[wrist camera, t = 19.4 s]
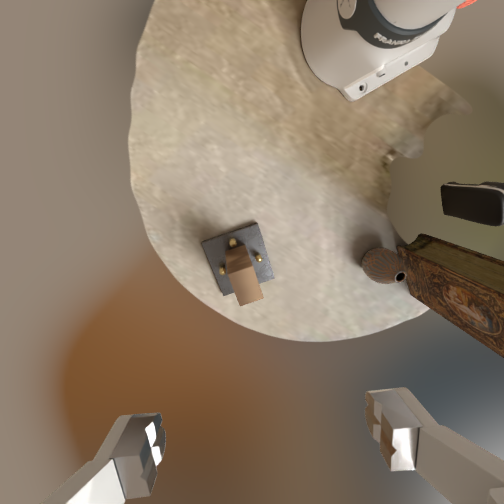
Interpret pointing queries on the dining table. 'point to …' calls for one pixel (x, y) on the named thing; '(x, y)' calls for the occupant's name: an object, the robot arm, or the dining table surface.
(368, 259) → the vase
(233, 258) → the board block
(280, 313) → the dining table surface
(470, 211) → the battery charger
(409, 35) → the robot arm
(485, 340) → the book
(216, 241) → the pin plate
